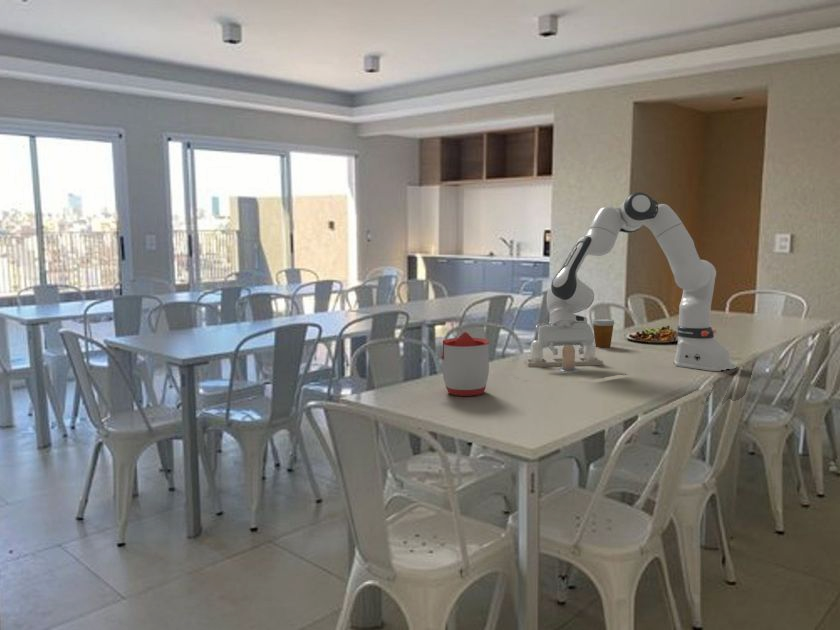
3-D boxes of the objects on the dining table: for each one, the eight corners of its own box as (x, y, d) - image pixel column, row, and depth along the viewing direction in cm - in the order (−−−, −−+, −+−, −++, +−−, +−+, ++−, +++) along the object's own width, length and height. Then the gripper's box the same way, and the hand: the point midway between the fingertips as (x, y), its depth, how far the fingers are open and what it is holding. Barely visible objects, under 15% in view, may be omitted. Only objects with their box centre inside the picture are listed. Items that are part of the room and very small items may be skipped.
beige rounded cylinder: (577, 369, 254) (577, 344, 252) (568, 371, 251) (568, 346, 250) (568, 367, 257) (568, 343, 256) (559, 369, 255) (559, 344, 254)
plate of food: (661, 333, 339) (661, 321, 338) (702, 341, 313) (702, 328, 312) (612, 339, 329) (612, 327, 329) (650, 348, 304) (650, 334, 303)
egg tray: (598, 363, 270) (598, 357, 269) (604, 367, 262) (604, 361, 261) (523, 365, 269) (523, 359, 268) (526, 369, 261) (526, 363, 260)
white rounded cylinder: (597, 363, 265) (598, 339, 263) (589, 364, 262) (589, 340, 261) (589, 361, 268) (589, 337, 267) (580, 362, 266) (581, 338, 265)
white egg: (545, 364, 264) (545, 340, 263) (536, 366, 262) (536, 341, 261) (537, 362, 268) (537, 338, 267) (528, 364, 265) (528, 340, 264)
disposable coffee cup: (596, 344, 312) (596, 317, 310) (617, 346, 306) (617, 318, 305) (588, 347, 304) (588, 320, 303) (609, 349, 299) (609, 321, 297)
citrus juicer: (436, 387, 236) (435, 328, 233) (488, 386, 235) (487, 328, 233) (436, 399, 220) (435, 336, 218) (491, 398, 220) (491, 335, 217)
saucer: (584, 373, 253) (584, 369, 253) (567, 376, 249) (567, 372, 249) (568, 369, 260) (568, 366, 260) (552, 372, 256) (552, 369, 256)
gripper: (536, 318, 259) (541, 349, 250) (591, 317, 259) (598, 348, 251) (533, 328, 264) (538, 359, 255) (587, 327, 264) (594, 357, 256)
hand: (568, 353), depth 253 cm, fingers open, 8 cm apart
